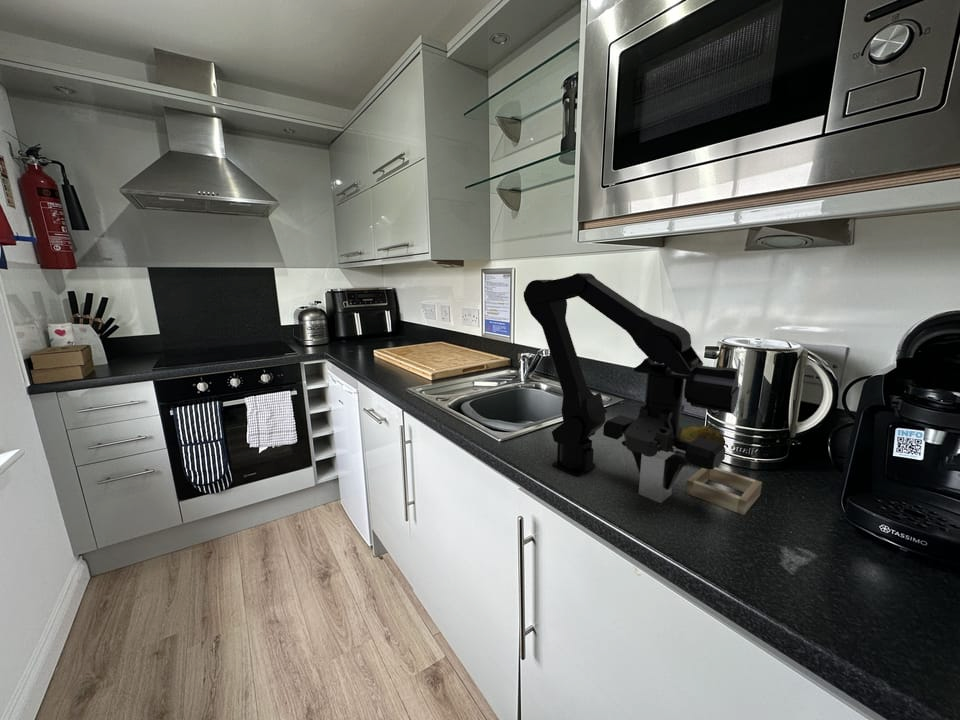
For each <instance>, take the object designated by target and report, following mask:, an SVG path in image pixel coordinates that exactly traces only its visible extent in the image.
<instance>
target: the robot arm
mask: <svg viewBox="0 0 960 720" xmlns="http://www.w3.org/2000/svg"><path fill="white" fill-rule="evenodd" d="M577 297H578V298H580V299H581V300H583V301H584V302H586V303H587V304H589V305H590V306H591V307H592V308H594V309H595V310H597V311H598V312H599V313H600V314H602V315H604V317H606V318H607V319H609V320H611V321H612V322H613V323H614V324H616V325H617V326H619V327H620V328H621V329H623V330H625V332H626V333H627V334H628V335H629V336H630V337H631V338H632V340H633V341H634V343H635V345H636V346H637V347H638V349H640V351H641V352H642V353H643V354H644V355H645V356H646V358H644V359H643V361H642V362H641V363H640V364H639V365H637V366H636V367H634V368H633V371H634V372H635V373H642V374H646V379H645V392H644V393H645V394H644V404H643V405H640V409H639V414H638V416H637V418H632V417H629V416H625V415H621V414H619V415H617V416H615V417H613V418H611V419H608V420H606V418H607V417H606V414H607V413H608V410H607V409H606V407H605V405H604V403H603V397H602V393H600V392H599V393H596V394H594V393H593V391H591V390H590V388H589V387H588V386H587V383H586V380H585V377H584V373H583V370H582V368H581V364H580V361H579V357H578V354H577V352H576V348H575V345H574V342H573V339H572V336H571V333H570V329H569V326H568V323H567V318H566V316H567V309H568V301H567V300H569V299H570V300H571V299H573V298H577ZM523 299H524V300H523V301H524V302H525V305H526V307H527V309H528V311H529V313H530V315H531V316H532V318H534V319H535V321H537V323H538V324H539V325H540V327H541V328H542V331H543V334H544V337H545V340H546V344H547V346H548V350H549V353H550V356H551V360H552V363H553V366H554V369H555V373H556V376H557V378H558V381H559V385H560V389H561V392H562V404H561V416H562V422H563V423H561V424H560V425H559V426H557V427H555V428H554V429H553V430H552V431H551V435H552V439H553V441H554V443H557V446H556V447H557V449H556V450H557V451H556V456H557V457H556V460H555V461H553V462H551V466H552V467H555V468H557V469H559V470H561V471H564V472H566V473H568V474H571V475H573V476H576V477H579V476H582V474H585V473H587V472H588V471H590V470H591V469H594V468H595V467H596V463H594V453H595V452H594V451H595V450H594V448H593V440H592V439H590V438H591V437H592V436H594V435H595V434H596V432H597V431H598V430H600V429H601V428H602V427H603V433H602V434H603V436H604V437H606V438H607V437H608V438H610V439H613V440H616V441H617V440H619V439H621V438H622V437H623V441H621V445H622V446H624V447H626V449H627V450H628V451H631V453H632V455H633V458H634V461H635V463H636V467H637V471H638V473H639V474H640V469H641V456H642V454H643V455H645V456H648V457H652V456H655V455H656V454H657V451H658V452H660V451H665V452H669V451H670V449H671V448H673V449H674V454H673V455H671V456H670V457H668V458H667V460H668V463H669V467H668V473H667V478H666V489H667V490H669V489H670V488H671V486H672V487H673V484H674V483H675V481H676V480H677V478H678V477H679V475H680V473H681V471H682V470H683V468H684V467H687V466H689V465H693V466H696V467H700V468H705V469H714V468H715V467H717V466H718V465H720V464H721V463H722V462H723V461H724V460H725V459H726V458H725V457H726V446H725V445H724V446H723V444H722V443H720V442H717V441H713V440H709V439H706V438H702V437H698V438H697V439H695V440H694V441H689V440H683V439H680V438H678V437H679V435H680V434H681V433H682V429H683V428H682V427H680V425H681V415H682V413H683V412H684V411H685V405H683V396H684V398H685V401H686V403H689V404H690V406H691V407H695V408H700V409H705V410H709V411H710V410H711V411H716V412H720V413H726V414H734V413H735V411H736V408H737V403H738V399H739V394H740V386H739V377H738V374H739V369H738V368H736V367H735V368H734V367H718V366H717V367H716V366H708V365H704V362H703V360H702V359H701V358H700V356H699V355H698V353H697V352H696V350H695V349H694V348H693V346H692V337H691V334H690V332H689V331H688V330H687V329H686V328H684V326H681V325H678V324H676V323H675V322H672V321H670V320H667V319H665V318H663V317H659V316H655V315H652V314H650V313H648V312H646V311H644V310H643V309H641V308H640V307H638V305H635V304H634V303H632V302H630V300H628V299H626V298H625V297H623V296H622V295H621V294H619V293H618V292H617V291H614V289H612V288H611V287H609V286H607V285H606V284H605V283H603V282H602V281H600V280H599V279H597V278H596V277H595V275H594V274H593V273H592V274H591V273H590V272H589V273H588V272H587V273H583V272H578V273H574V274H573V275H569V276H565V277H562V278H556V279H535V280H531V281H530V282H529V283H527V285H526V287H525V289H524V290H523Z"/></svg>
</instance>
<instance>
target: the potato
mask: <svg viewBox="0 0 960 720" xmlns="http://www.w3.org/2000/svg"><path fill="white" fill-rule="evenodd" d="M698 437H702V438H706V439H709V440H713V441H717V442H720V443H722V444H723V446H724V447H725V445H726V439H725V437H724V435H723V434H721V432H719V430H717V429H715V428H713V427H711V426H707V425H693V426H688V427H684V428H682V433H681V434H680V435H679V437H678V438H680V439H683V440H689V441H694V440H695V439H697V438H698ZM670 452H673V453H674V449H673V448H671V449H670Z"/></svg>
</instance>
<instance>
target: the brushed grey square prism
mask: <svg viewBox="0 0 960 720" xmlns="http://www.w3.org/2000/svg"><path fill="white" fill-rule="evenodd" d="M673 454H674V453H673V452H670V451H669V452H665V451H660V452H658V451H657V454H656V455H655V456H652V457H648V456H645V455H643V454H642V456H641V469H640V473H639V481H638V482H639V485H638V495H640V496H642V497H645V498H647V499H650V500H652V501H655V502H657V503H660V504H662V503H663V502H664V501H665V500H667V499H668V498H669V497H670V496H671V495H672V489H673V485H672V486H671V488H670V489H669V490H667V489H666V478H667V473H668V467H669V463H668V460H667V458H668V457H670V456H671V455H673Z"/></svg>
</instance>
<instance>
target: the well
mask: <svg viewBox="0 0 960 720" xmlns="http://www.w3.org/2000/svg"><path fill="white" fill-rule="evenodd" d="M708 481H710V482H714V483H717V484H719V485H723V486H725V487H728V488H731V489H734V490H737V491H740V492H742V495H741V496H740V495H737V494H735V493H731V492H728V491H727V490H723V489H721V488H717V487H715V486H712V485H709V484H706V483H707V482H708ZM762 485H763V482H762V481H761V480H756V479H754V478H751V477H747V476H744V475H741V474H739V473H735V472H731V471H729V470H726V469H723V468H719V467H717V466H716V467H715V468H714V469H705V468H702V467H700V469H699V470H698V471H696V472H695V473H694V474H693V475H691V476H690V477H689V478H688V479H687V480H686V489H685V494H686V495H690V496H693V497H695V498H698V499H700V500H704V501H706V502H708V503H711V504H714V505H716V506H718V507H721V508H724V509H726V510H729V511H732V512H735V513H736V514H739V515H741V516H745V515H746V514H747V512H748V511H749V510H750V508H751V507H752V506H753V505H754V503H755V502H756V501H757V500H758V499H759V497H760V496H761V492H762Z"/></svg>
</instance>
